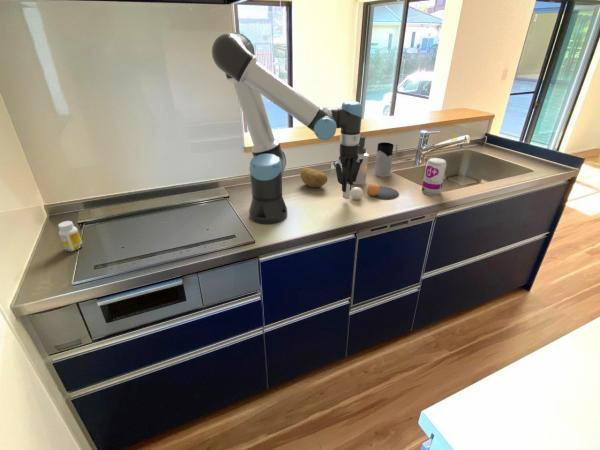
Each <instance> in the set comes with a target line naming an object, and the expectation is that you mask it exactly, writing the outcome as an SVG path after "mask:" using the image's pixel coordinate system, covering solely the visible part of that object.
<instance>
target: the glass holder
mask: <svg viewBox="0 0 600 450" xmlns="http://www.w3.org/2000/svg"><path fill="white" fill-rule="evenodd" d="M394 146H395V151H394ZM393 152H394V154H393ZM397 152H398V145H397V143H394V144H393V143H391V142H378V143H377V150H376V156H375V163H374V165H375V166H374V171H373V175H375V176H377V177H385V178H386V177H390V176H391V175H392V173H391V171H392V170H391V169H392V163H393V160H394V159H395V157H396V155H397Z"/></svg>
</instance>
